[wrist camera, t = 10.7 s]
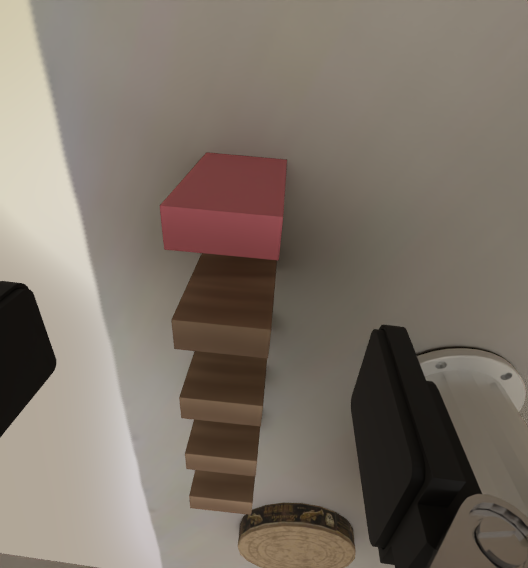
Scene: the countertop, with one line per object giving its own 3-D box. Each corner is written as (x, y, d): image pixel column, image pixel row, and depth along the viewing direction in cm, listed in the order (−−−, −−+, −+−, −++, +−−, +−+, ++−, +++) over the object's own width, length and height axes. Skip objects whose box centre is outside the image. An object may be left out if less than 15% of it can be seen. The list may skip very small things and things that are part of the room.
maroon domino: (206, 152, 22) (159, 205, 14) (287, 159, 21) (283, 217, 14) (207, 184, 23) (164, 249, 15) (283, 191, 23) (278, 260, 15)
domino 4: (211, 401, 35) (189, 496, 27) (261, 406, 35) (252, 503, 27) (211, 413, 36) (190, 508, 28) (260, 418, 36) (251, 514, 28)
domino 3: (210, 358, 32) (185, 453, 24) (265, 364, 31) (257, 461, 24) (211, 373, 33) (186, 469, 25) (264, 379, 33) (255, 476, 25)
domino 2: (209, 306, 28) (179, 397, 21) (271, 312, 28) (262, 406, 21) (210, 324, 29) (181, 418, 22) (269, 330, 29) (260, 426, 22)
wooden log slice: (218, 514, 49) (214, 538, 47) (318, 489, 44) (320, 516, 41) (277, 556, 56) (277, 580, 54) (371, 540, 50) (375, 566, 48)
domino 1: (208, 239, 25) (171, 320, 17) (278, 246, 25) (271, 329, 17) (208, 263, 26) (174, 348, 18) (275, 270, 26) (267, 358, 18)
